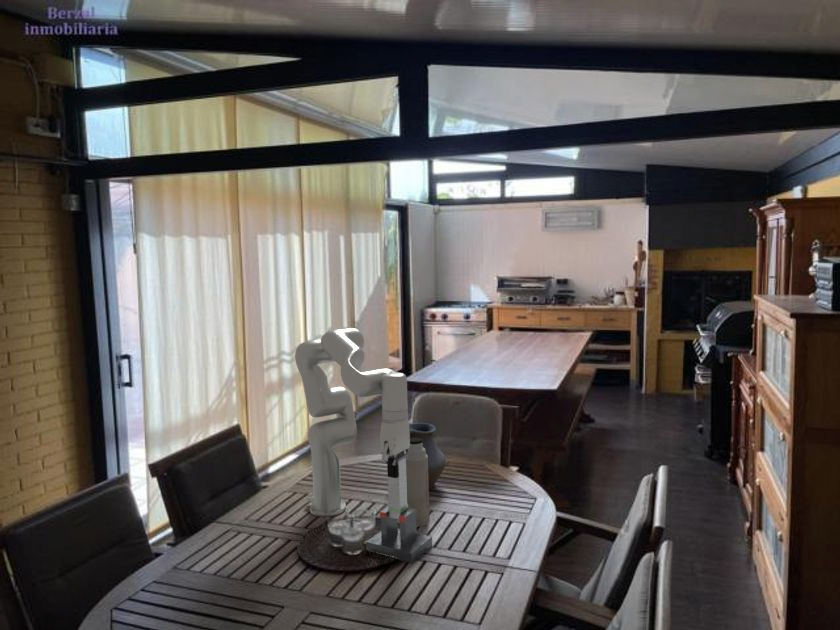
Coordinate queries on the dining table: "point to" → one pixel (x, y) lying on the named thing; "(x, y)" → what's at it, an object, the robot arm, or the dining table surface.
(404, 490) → the column
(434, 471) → the pitcher
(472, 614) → the dining table surface
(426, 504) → the thermos bottle
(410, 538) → the base
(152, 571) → the dining table surface
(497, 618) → the dining table surface
